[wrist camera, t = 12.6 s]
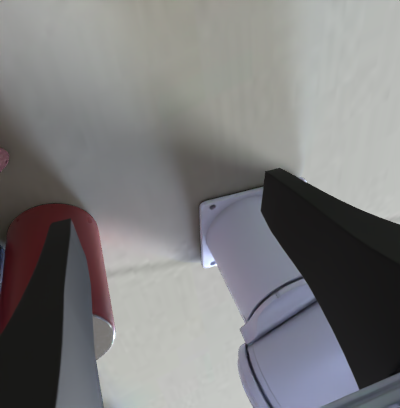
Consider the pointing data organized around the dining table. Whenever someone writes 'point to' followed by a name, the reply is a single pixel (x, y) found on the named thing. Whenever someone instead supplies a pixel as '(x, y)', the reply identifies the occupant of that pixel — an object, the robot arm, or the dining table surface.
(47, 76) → the dining table surface
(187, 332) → the dining table surface
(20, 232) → the tin can burgundy
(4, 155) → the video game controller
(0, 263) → the tin can navy
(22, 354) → the robot arm
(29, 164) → the dining table surface
